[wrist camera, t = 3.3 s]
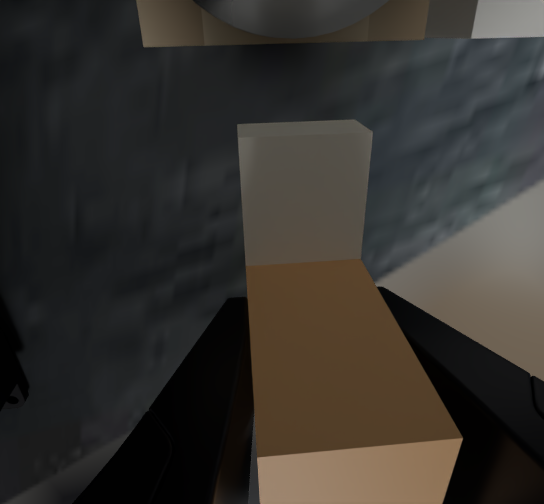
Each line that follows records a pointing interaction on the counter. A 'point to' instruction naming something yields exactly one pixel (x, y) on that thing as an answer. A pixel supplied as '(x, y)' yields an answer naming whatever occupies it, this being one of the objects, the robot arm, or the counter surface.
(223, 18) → the grey flanged peg
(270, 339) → the tan and grey l-block
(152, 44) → the birch socket block
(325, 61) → the counter surface
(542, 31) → the grey block
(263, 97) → the counter surface
